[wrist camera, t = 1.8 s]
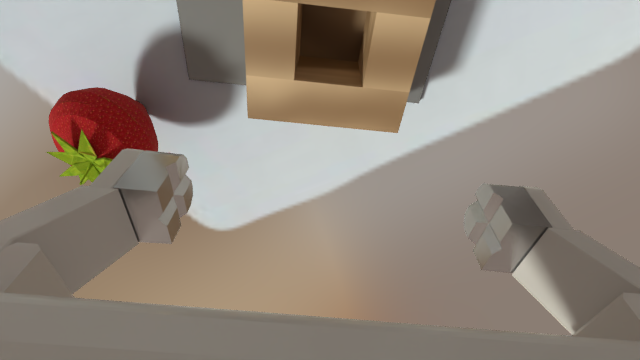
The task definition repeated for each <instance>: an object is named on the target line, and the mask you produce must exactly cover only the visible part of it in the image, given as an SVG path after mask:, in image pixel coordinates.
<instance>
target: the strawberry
mask: <svg viewBox="0 0 640 360" xmlns="http://www.w3.org/2000/svg"><path fill="white" fill-rule="evenodd" d="M49 126H50V131H51V134H52V138H53V141H54V143H55V145H56V147H57V149H58V151H59V152H47V153H49V154H51V155H52V156H54V157H56V158H59V159H60V160H62V161H64V162H66V163H68V164H70V165H71V167H70V168H68V169H67V170H66V171H65V172H64V173H63V174H61V175H60V176H75V175H79V177H80V181H81V182H80V185H81V184H84V183H85V182H86V181H87V180H88V179H89V180H90V181H91V182H93V181H94V180H95V179H96V178H97V177H98V176H99V175H100V174H101V172H102V171H103V170H104V169H105V168H106V167H107V166H108V165H109V164H110V163H111V161H112V160H113V159H114V158H115V157H116V156H117V155H118V154H119V153H120V152H121V151H122V150H124V149H127V148H128V149H138V150H145V151H146V150H148V151H156V152H158V140H157V136H156V133H155V130H154V127H153V123H152V121H151V119H150V117H149V115H148V113H147V110H146V108H145V107H144V106H143V105H142V104H141V103H140V102H138V101H135V100H133V99H132V98H130V97H128V96H126V95H123V94H120V93H117V92H114V91H111V90H108V89H105V88H88V89H82V90H77V91H71V92H68V93H66V94H64V95H63V96H62V97H61V98H60V99H59V100H58V101H57V103H56V104H55V106H54V107H53V108H52V110H51V112H50V115H49Z"/></svg>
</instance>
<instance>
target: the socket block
mask: <svg viewBox="0 0 640 360" xmlns="http://www.w3.org/2000/svg"><path fill="white" fill-rule="evenodd" d="M435 1H436V0H243V21H244V43H245V64H246V86H247V107H248V118H253V119H263V120H273V121H283V122H293V123H303V124H313V125H323V126H333V127H343V128H353V129H363V130H373V131H383V132H393V133H398V130H399V127H400V123H401V120H402V116H403V113H404V109H405V106H406V102H407V99H408V95H409V92H410V88H411V85H412V81H413V78H414V74H415V71H416V67H417V64H418V60H419V57H420V54H421V50H422V47H423V43H424V40H425V36H426V33H427V29H428V26H429V22H430V19H431V15H432V12H433V8H434V5H435Z"/></svg>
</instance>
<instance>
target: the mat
mask: <svg viewBox="0 0 640 360" xmlns="http://www.w3.org/2000/svg"><path fill="white" fill-rule="evenodd" d="M176 1H177V7H178V13H179V19H180V26H181V32H182V38H183V44H184V51H185V57H186V63H187V69H188V75H189V79H191V80H200V81H210V82H219V83H229V84H239V85H246V64H245V43H244V21H243V0H176ZM450 2H451V0H436V1H435V5H434V8H433V12H432V15H431V19H430V22H429V26H428V29H427V33H426V36H425V40H424V43H423V47H422V50H421V54H420V57H419V60H418V64H417V67H416V71H415V74H414V78H413V81H412V85H411V88H410V92H409V95H408V99H407V102H412V103H419V101H420V98H421V95H422V92H423V88H424V85H425V82H426V79H427V76H428V72H429V69H430V66H431V63H432V60H433V57H434V53H435V50H436V47H437V44H438V41H439V37H440V34H441V31H442V28H443V25H444V22H445V18H446V15H447V12H448V9H449V6H450Z"/></svg>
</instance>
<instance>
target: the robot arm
mask: <svg viewBox="0 0 640 360" xmlns="http://www.w3.org/2000/svg"><path fill="white" fill-rule="evenodd" d="M188 168H189V166H188V161H187V158H186V157H185V156H184V155H182V154H174V153H165V152H156V151H148V150H146V151H145V150H138V149H128V148H127V149H124V150H122V151H121V152H120V153H119V154H118V155H117V156H116V157H115V158H114V159H113V160H112V161H111V163H110V164H109V165H108V166H107V167H106V168H105V169H104V170H103V171H102V172H101V174H100V175H99V176H98V177H97V178H96V179H95V180H94V181H93V182H92V183H91V185H90V186H81V187H78V188H76V189H74V190H71V191H69V192H67V193H64V194H62V195H60V196H57V197H55V198H52V199H50V200H48V201H45V202H43V203H41V204H38V205H36V206H34V207H31V208H29V209H27V210H25V211H22V212H20V213H17V214H15V215H13V216H10V217H8V218H6V219H3V220H1V221H0V360H640V267H638V266H637V265H635V264H633V263H631V262H630V261H628V260H627V259H625V258H624V257H622V256H620V255H619V254H617V253H616V252H614V251H612V250H611V249H609V248H607V247H606V246H604V245H603V244H601V243H599V242H598V241H596V240H594V239H593V238H591V237H589V236H588V235H586V234H585V233H583V232H581V231H579V230H574V229H573V228H572V227H571V225H570V224H569V223H568V221H567V220H566V219H565V218H564V217H563V215H562V214H561V212H560V211H559V210H558V209H557V207H556V206H555V205H554V204H553V202H552V201H551V200H550V198H549V197H548V196H547V195H546V193H545V192H544V191H543V190H541V189H540V188H537V187H525V186H519V187H516V186H505V185H494V184H482V185H481V186H480V187H479V188H478V190H477V192H476V194H475V195H476V199H477V201H476V202H474V203H473V204H471V205H470V206H469V207H468V209H467V211H466V213H465V217H464V229H465V232H466V235H467V237H468V239H470V240H471V241H472V242H473V243H474V244H476V245H475V247H474V249H473V252H474V254H475V256H476V258H477V261H478V263H479V265H480V268H481V270H486V271H495V272H505V273H513V274H512V276H513V277H515V278H516V279H517V281H518V282H520V284H521V285H522V286H524V287H525V288H526V290H528V291H529V292H530V293H531V294H532V295H533V296H534V297H535V298H536V299H537V300H538V301H539V302H540V303H541V304H542V305H543V306H544V307H545V308H546V309H547V310H548V311H549V312H550V313H551V314H552V315H553V316H554V317H555V318H556V319H557V320H558V321H559V322H560V323H561V324H562V325H563V326H564V327H565V328H566V329H567V330H568V331H569V332H570V333H571V334H572V336H565V335H551V334H539V333H526V332H513V331H500V330H487V329H473V328H460V327H446V326H433V325H420V324H406V323H393V322H380V321H368V320H355V319H342V318H329V317H316V316H302V315H291V314H278V313H265V312H251V311H238V310H225V309H213V308H200V307H186V306H174V305H160V304H147V303H134V302H122V301H109V300H96V299H82V298H75V297H74V296H73V295H72V294H73V293H74V292H76V291H77V290H78V289H80V288H81V287H82V286H84V285H85V284H86V283H87V282H89V281H90V280H91V279H93V278H94V277H95V276H97V275H98V274H99V273H101V272H102V271H103V270H105V269H106V268H107V267H109V266H110V265H111V264H113V263H114V262H115V261H116V260H118V259H119V258H120V257H122V256H123V255H124V254H126V253H127V252H128V251H130V250H131V249H132V248H133V247H135V246H136V245H138V244H139V243H138V242H149V243H166V244H172V242H173V241H174V238H175V236H176V235H177V232H178V230H179V229H180V226H181V222H180V217H182V216H183V215H185V214H186V213H187V212H188V210H189V208H190V206H191V201H192V196H193V187H192V181H191V180H190V179H189V178H188V177H187V176H186V175H185V174H186V172H187V170H188Z"/></svg>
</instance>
